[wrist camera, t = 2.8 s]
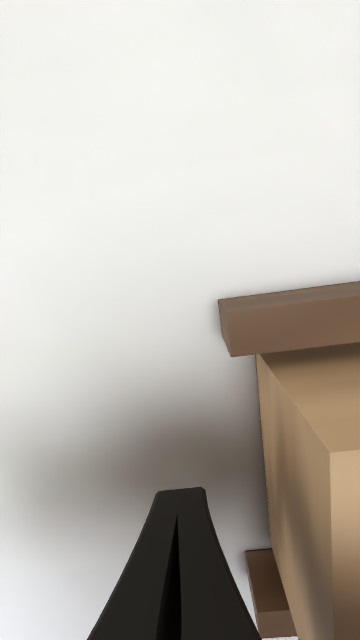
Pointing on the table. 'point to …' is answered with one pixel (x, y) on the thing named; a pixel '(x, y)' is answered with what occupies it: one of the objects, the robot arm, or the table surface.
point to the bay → (273, 336)
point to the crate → (314, 483)
